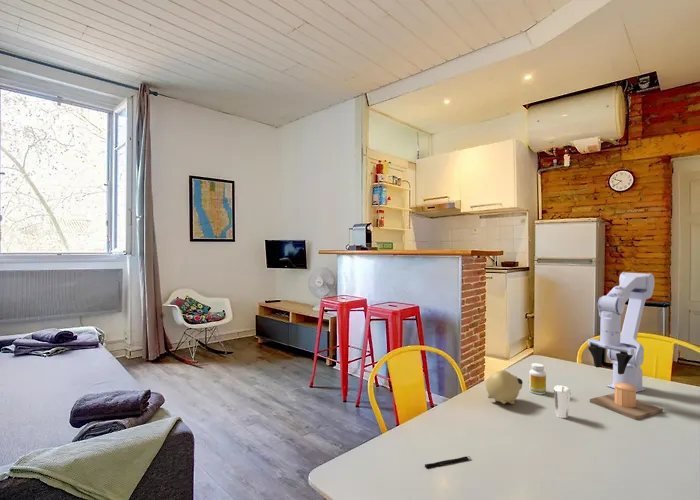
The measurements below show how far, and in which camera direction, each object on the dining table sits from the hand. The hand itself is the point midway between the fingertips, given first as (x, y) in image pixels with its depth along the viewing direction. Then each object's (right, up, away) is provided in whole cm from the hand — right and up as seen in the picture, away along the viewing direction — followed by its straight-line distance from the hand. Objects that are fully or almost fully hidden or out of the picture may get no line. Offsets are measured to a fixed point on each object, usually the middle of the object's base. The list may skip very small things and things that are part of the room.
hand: (609, 370), depth 130 cm
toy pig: (-38, -9, -5) cm, 40 cm away
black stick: (-66, -10, -41) cm, 78 cm away
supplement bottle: (-23, -9, +4) cm, 25 cm away
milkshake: (-25, -10, -15) cm, 31 cm away
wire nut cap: (0, -9, -8) cm, 11 cm away
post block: (0, -10, -8) cm, 12 cm away
